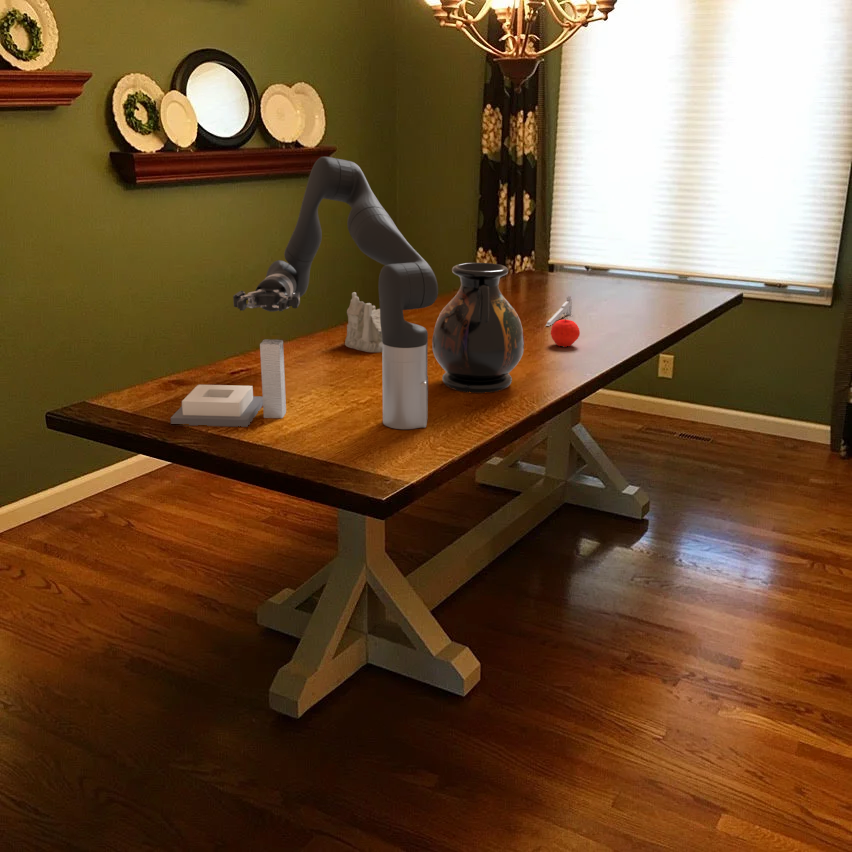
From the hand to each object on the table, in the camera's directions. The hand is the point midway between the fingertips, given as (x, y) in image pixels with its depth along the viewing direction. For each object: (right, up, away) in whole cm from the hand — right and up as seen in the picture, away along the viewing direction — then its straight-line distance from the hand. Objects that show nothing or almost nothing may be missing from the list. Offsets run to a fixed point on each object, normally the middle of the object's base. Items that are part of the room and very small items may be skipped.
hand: (260, 306), depth 202 cm
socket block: (-9, -23, -2) cm, 25 cm away
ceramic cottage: (+22, -3, +56) cm, 60 cm away
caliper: (+77, +6, +86) cm, 115 cm away
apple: (+74, -4, +56) cm, 93 cm away
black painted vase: (+48, -16, +20) cm, 54 cm away
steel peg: (+3, -23, -3) cm, 24 cm away
